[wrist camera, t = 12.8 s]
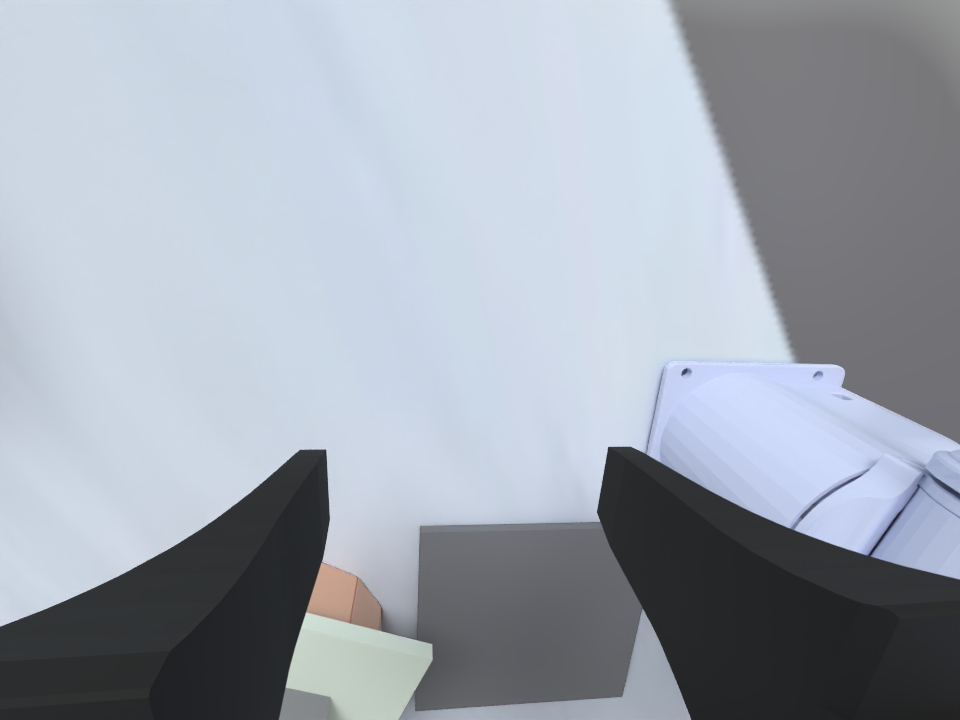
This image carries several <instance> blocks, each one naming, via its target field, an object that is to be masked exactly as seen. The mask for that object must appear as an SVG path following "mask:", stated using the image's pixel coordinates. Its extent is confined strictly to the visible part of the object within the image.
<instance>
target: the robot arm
mask: <svg viewBox="0 0 960 720" xmlns="http://www.w3.org/2000/svg"><path fill="white" fill-rule="evenodd" d="M686 368H687V370H688V371H687V373H686V374H685V375H682V376H681V373H682V371H683V370H684V369H686ZM816 372H817V374H816V376H815V377H813V376H814V374H815V373H816ZM844 376H845V371H844V369H843V368H842V367H840V366H837V365H829V364H788V363H744V362H701V361H672V362H670V363H668V364H667V365H666V366H665V368H664V370H663V375H662V380H661V385H660V390H659V395H658V400H657V405H656V410H655V415H654V420H653V425H652V430H651V434H650V439H649V444H648V449H647V454H645V453H643V452H641V451H639V450H637V449H634V448H632V447H608V452H607V458H606V464H605V469H604V475H603V481H602V487H601V493H600V498H599V504H598V510H597V513H598V516H599V519H600V522H601V525H602V527H603V530H604V533H605V535H606V538H607V541H608V543H609V546H610V548H611V550H612V552H613V554H614V556H615V557H616V559H617V561H618V563H619V565H620V567H621V569H622V571H623V573H624V574H625V576H626V578H627V580H628V582H629V584H630V586H631V587H632V589H633V591H634V593H635V595H636V597H637V598H638V600H639V602H640V604H641V606H642V608H643V609H644V611H645V613H646V615H647V617H648V619H649V621H650V622H651V624H652V626H653V628H654V630H655V633H656V635H657V637H658V639H659V641H660V643H661V645H662V648H663V650H664V652H665V655H666V657H667V660H668V662H669V664H670V667H671V669H672V672H673V674H674V676H675V679H676V681H677V684H678V686H679V689H680V691H681V694H682V696H683V699H684V702H685V704H686V707H687V709H688V712H689V714H690V717H691V720H960V445H959V444H957V443H956V442H954V441H952V440H951V439H948V438H947V437H945V436H942V435H940V434H938V433H936V432H934V431H932V430H930V429H928V428H926V427H923V426H921V425H919V424H917V423H915V422H913V421H911V420H909V419H907V418H905V417H902V416H900V415H898V414H896V413H894V412H892V411H890V410H888V409H885V408H884V407H881V406H879V405H877V404H875V403H873V402H871V401H869V400H867V399H865V398H862V397H860V396H858V395H856V394H854V393H852V392H850V391H848V390H845V389H843V388H841V385H842V382H843V379H844ZM329 521H330V515H329V495H328V476H327V456H326V450H299V451H298V452H297V453H296V454H295V455H294V456H292V457H291V458H290V459H289V460H288V461H287V462H286V463H284V464H283V465H282V466H281V467H280V468H279V469H278V470H277V471H275V472H274V473H273V474H272V475H271V476H270V477H269V478H267V479H266V480H265V481H264V482H263V483H262V484H260V485H259V486H258V487H257V488H256V489H254V490H253V491H252V492H251V493H250V494H248V495H247V496H246V497H244V498H243V499H242V500H241V501H239V502H238V503H237V504H235V505H234V506H233V507H231V508H230V509H229V510H227V511H226V512H225V513H223V514H222V515H221V516H220V517H218V518H217V519H215V520H214V521H212V522H211V523H210V524H208V525H207V526H205V527H204V528H202V529H201V530H199V531H198V532H196V533H194V534H193V535H191V536H190V537H188V538H186V539H185V540H183V541H182V542H180V543H179V544H177V545H175V546H174V547H172V548H170V549H168V550H167V551H165V552H163V553H161V554H159V555H157V556H156V557H154V558H152V559H150V560H148V561H146V562H144V563H143V564H141V565H139V566H137V567H135V568H133V569H132V570H130V571H128V572H126V573H124V574H122V575H120V576H118V577H116V578H114V579H112V580H110V581H108V582H106V583H104V584H101V585H99V586H97V587H95V588H93V589H91V590H89V591H86V592H84V593H82V594H80V595H77V596H75V597H73V598H71V599H68V600H66V601H64V602H62V603H59V604H57V605H54V606H52V607H50V608H47V609H45V610H43V611H40V612H37V613H35V614H32V615H30V616H27V617H24V618H22V619H19V620H17V621H14V622H11V623H9V624H6V625H4V626H1V627H0V720H279V717H280V712H281V707H282V702H283V698H284V693H285V688H286V683H287V679H288V674H289V669H290V665H291V661H292V658H293V654H294V650H295V646H296V643H297V640H298V637H299V634H300V630H301V627H302V624H303V621H304V618H305V614H306V611H307V608H308V605H309V602H310V599H311V595H312V592H313V589H314V586H315V582H316V579H317V576H318V573H319V569H320V566H321V563H322V559H323V555H324V550H325V544H326V539H327V533H328V527H329Z"/></svg>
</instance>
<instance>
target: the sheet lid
mask: <svg viewBox="0 0 960 720" xmlns="http://www.w3.org/2000/svg"><path fill="white" fill-rule="evenodd" d="M432 660H433V655H432V644H429V643H425V642H421V641H417V640H414V639H410V638H406V637H402V636H398V635H394V634H390V633H386V632H382V631H378V630H374V629H370V628H366V627H362V626H358V625H354V624H350V623H346V622H342V621H338V620H334V619H330V618H326V617H322V616H318V615H314V614H310V613H306V614H305V618H304V621H303V624H302V627H301V630H300V634H299V637H298V640H297V643H296V646H295V650H294V654H293V658H292V661H291V665H290V669H289V674H288V679H287V683H286V688H285V693H284V698H283V702H282V707H281V712H280V717H279V720H398V719H399V717H400V716H401V714H402V712H403V710H404V709H405V707H406V705H407V703H408V702H409V700H410V698H411V697H412V695H413V693H414V691H415V690H416V688H417V686H418V684H419V683H420V681H421V679H422V677H423V676H424V674H425V672H426V671H427V669H428V667H429V665H430V664H431V662H432Z"/></svg>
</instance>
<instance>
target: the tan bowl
mask: <svg viewBox="0 0 960 720" xmlns="http://www.w3.org/2000/svg"><path fill="white" fill-rule="evenodd" d="M306 613H310V614H314V615H318V616H322V617H326V618H330V619H334V620H338V621H342V622H346V623H350V624H354V625H358V626H362V627H366V628H370V629H374V630H378V631H382V623H381V605H380V604H379V603H378V602H377V600H376V599H375V598H374V597H373V595H372V594H371V593H370V592H369V590H368V589H367V588H366V586H365V585H364V584H363V583H362V581H361V580H360V579H359V578H358V579H357V577H356V576H354V575H351V574H349V573H347V572H344V571H342V570H339V569H337V568H334V567H332V566H329V565H327V564H324V563H321V566H320V569H319V573H318V576H317V579H316V582H315V586H314V589H313V592H312V595H311V599H310V602H309V605H308V608H307V611H306Z"/></svg>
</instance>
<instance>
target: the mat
mask: <svg viewBox="0 0 960 720" xmlns="http://www.w3.org/2000/svg"><path fill="white" fill-rule="evenodd" d="M641 611H642V606H641V604H640V602H639V600H638V598H637V597H636V595H635V593H634V591H633V589H632V587H631V586H630V584H629V582H628V580H627V578H626V576H625V574H624V573H623V571H622V569H621V567H620V565H619V563H618V561H617V559H616V557H615V556H614V554H613V552H612V550H611V548H610V546H609V543H608V541H607V538H606V535H605V533H604V530H603V527H602V525H601V522H592V523H545V524H499V525H453V526H420V545H419V583H418V622H417V641H421V642H425V643H429V644H432V655H433V660H432V662H431V664H430V665H429V667H428V669H427V671H426V672H425V674H424V676H423V677H422V679H421V681H420V683H419V684H418V686H417V688H416V700H415V711H424V710H438V709H452V708H467V707H481V706H495V705H510V704H524V703H538V702H553V701H567V700H581V699H596V698H610V697H622V695H623V691H624V686H625V682H626V677H627V673H628V668H629V664H630V659H631V655H632V651H633V646H634V642H635V637H636V633H637V628H638V624H639V620H640V615H641Z"/></svg>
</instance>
